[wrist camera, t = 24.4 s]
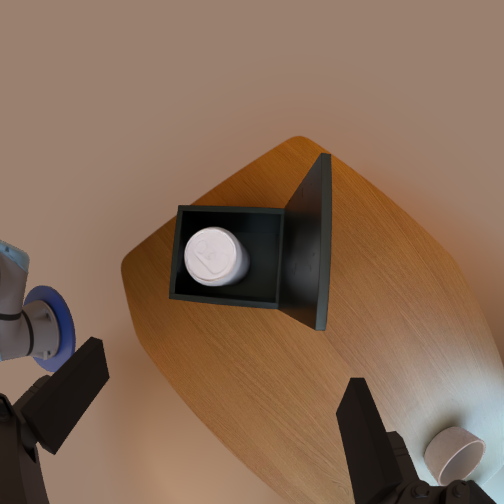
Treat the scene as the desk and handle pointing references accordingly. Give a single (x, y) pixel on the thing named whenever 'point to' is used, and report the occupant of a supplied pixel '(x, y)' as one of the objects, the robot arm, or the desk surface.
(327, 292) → the bin lid
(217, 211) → the trash bin
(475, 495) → the vase
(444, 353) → the desk surface
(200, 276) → the beverage can
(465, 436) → the planter
